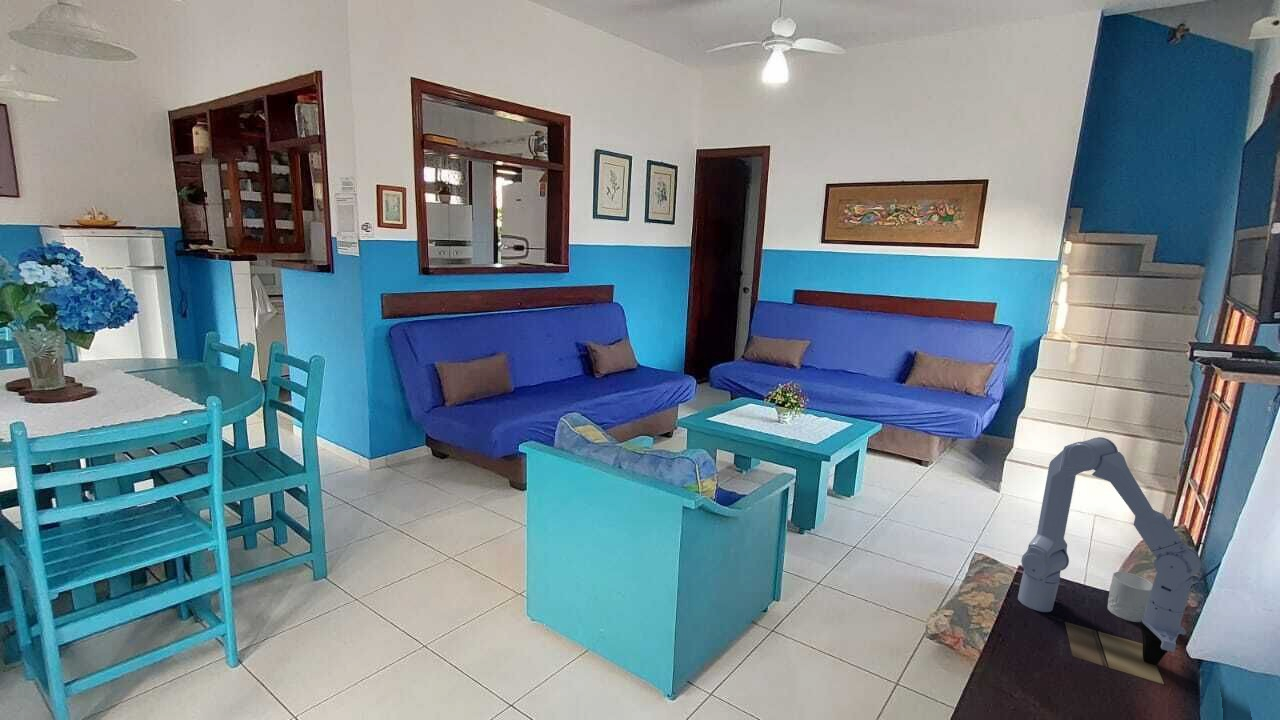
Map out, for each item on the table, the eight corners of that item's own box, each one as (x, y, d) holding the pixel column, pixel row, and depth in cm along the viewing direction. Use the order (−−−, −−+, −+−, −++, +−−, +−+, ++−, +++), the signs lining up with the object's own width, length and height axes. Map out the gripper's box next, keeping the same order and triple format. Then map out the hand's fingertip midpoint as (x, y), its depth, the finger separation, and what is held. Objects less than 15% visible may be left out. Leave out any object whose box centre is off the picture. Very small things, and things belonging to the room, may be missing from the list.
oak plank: (1096, 637, 143) (1097, 631, 143) (1145, 651, 140) (1147, 645, 139) (1107, 674, 131) (1109, 667, 131) (1162, 690, 127) (1164, 683, 127)
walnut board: (1063, 627, 146) (1064, 621, 146) (1094, 636, 144) (1096, 630, 143) (1071, 662, 134) (1072, 655, 134) (1105, 673, 131) (1107, 666, 131)
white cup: (1099, 616, 152) (1109, 578, 150) (1107, 604, 157) (1117, 568, 155) (1140, 633, 146) (1151, 594, 144) (1147, 621, 152) (1158, 583, 149)
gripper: (1202, 629, 122) (1183, 690, 125) (1180, 593, 135) (1164, 649, 138) (1156, 617, 126) (1139, 677, 128) (1140, 582, 138) (1124, 638, 141)
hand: (1149, 662), depth 134 cm, fingers closed, pressing on oak plank
